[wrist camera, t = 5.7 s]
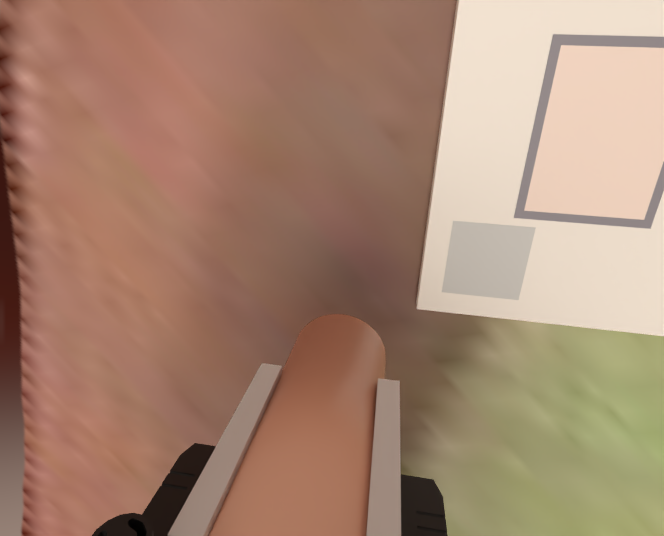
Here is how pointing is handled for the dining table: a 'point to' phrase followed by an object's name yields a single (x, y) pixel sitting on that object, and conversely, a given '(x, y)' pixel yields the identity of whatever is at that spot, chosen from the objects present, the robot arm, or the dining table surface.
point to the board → (551, 166)
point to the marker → (312, 439)
